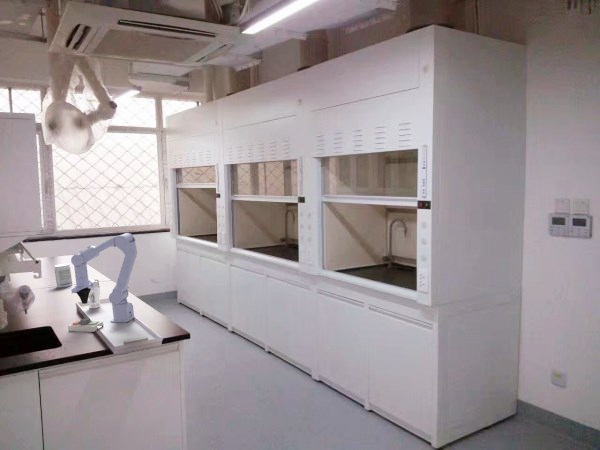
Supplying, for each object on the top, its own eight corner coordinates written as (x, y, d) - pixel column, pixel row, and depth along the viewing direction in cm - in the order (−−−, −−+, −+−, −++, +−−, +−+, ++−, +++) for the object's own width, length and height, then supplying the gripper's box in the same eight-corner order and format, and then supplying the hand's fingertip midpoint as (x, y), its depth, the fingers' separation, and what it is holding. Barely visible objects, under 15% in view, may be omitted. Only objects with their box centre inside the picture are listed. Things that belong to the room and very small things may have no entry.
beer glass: (85, 308, 265) (82, 282, 263) (95, 304, 271) (92, 279, 269) (95, 309, 262) (92, 282, 261) (104, 305, 269) (101, 279, 267)
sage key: (98, 326, 229) (98, 321, 229) (94, 328, 226) (94, 323, 226) (93, 326, 230) (92, 321, 230) (89, 328, 227) (88, 323, 227)
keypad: (103, 326, 231) (102, 321, 231) (93, 331, 224) (93, 326, 224) (78, 326, 234) (77, 320, 234) (68, 331, 228) (67, 325, 227)
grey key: (90, 323, 230) (89, 318, 230) (86, 325, 227) (85, 320, 227) (84, 323, 231) (84, 318, 231) (80, 325, 228) (80, 320, 228)
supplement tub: (75, 284, 327) (73, 263, 325) (66, 287, 318) (63, 266, 316) (63, 284, 329) (60, 263, 327) (53, 288, 320) (50, 266, 318)
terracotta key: (82, 325, 231) (81, 321, 231) (78, 328, 229) (77, 323, 228) (77, 325, 232) (76, 321, 232) (72, 327, 229) (72, 323, 229)
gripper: (84, 273, 247) (87, 299, 248) (64, 280, 233) (68, 307, 234) (96, 273, 245) (99, 299, 247) (77, 280, 231) (80, 307, 233)
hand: (84, 303), depth 240 cm, fingers closed
